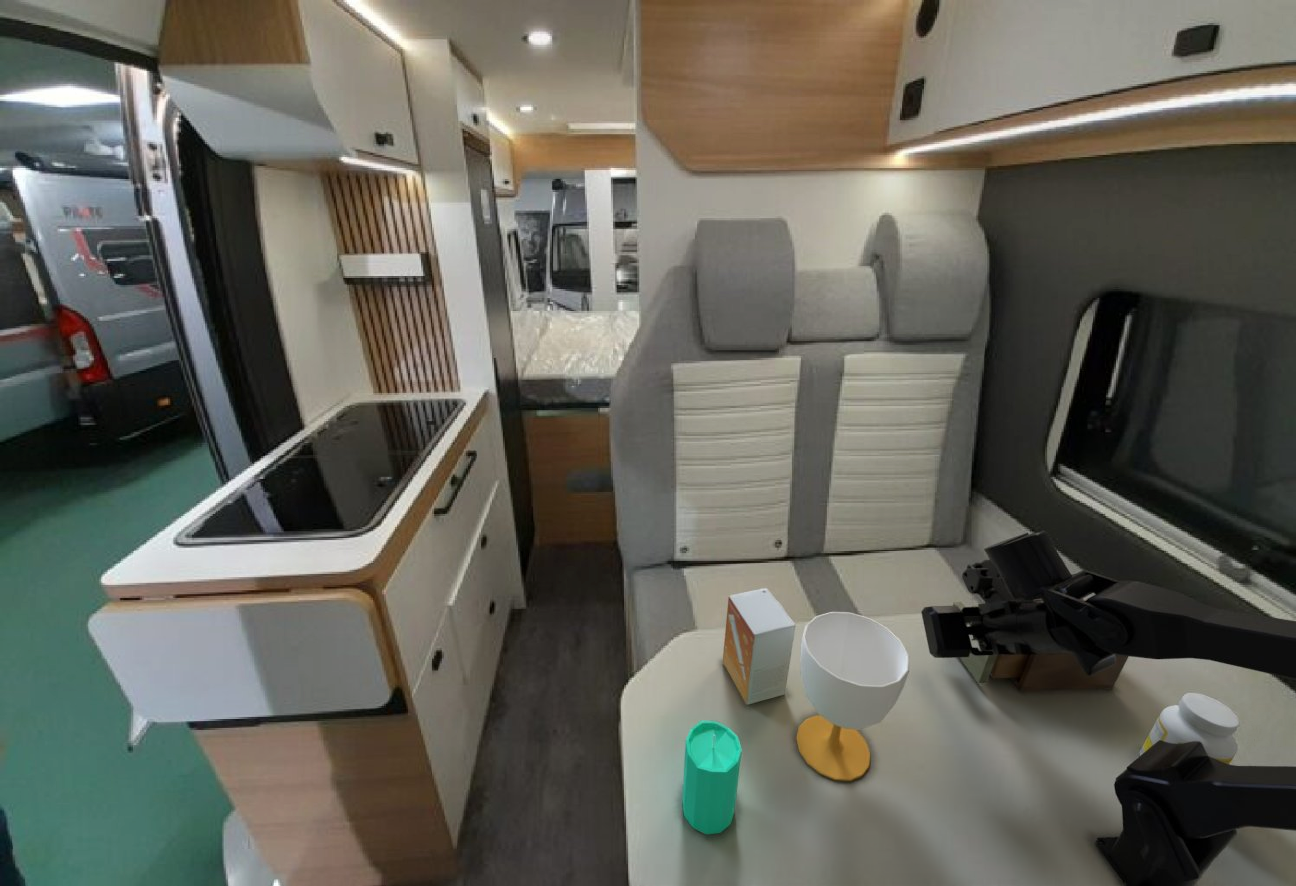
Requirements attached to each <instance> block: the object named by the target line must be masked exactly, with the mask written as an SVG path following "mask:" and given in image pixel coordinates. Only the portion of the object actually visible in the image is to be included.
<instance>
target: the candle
mask: <svg viewBox="0 0 1296 886" xmlns="http://www.w3.org/2000/svg"><path fill="white" fill-rule="evenodd" d="M684 746H685V747H684V764H683V766H684V767H683V781H682V782H683V783H682V799H681V803H682V809H683V816H684V818H685V819H686V821H687V822H688V823H689V825H690V826H691V827H692V828H693V829H694V830H696V831H699V832H700V833H702V834H704V835H715V834H721V833H722V832H724V830H726V829H727V828H728V827H729V826H731V825H732V821H733V817H734V814H735V811H736V803H737V793H738V785H739V779H740V778H739V777H740V776H739V775H740V768H741V759H742V752H743V749H742V746H741V742H740V738H739V736H738V735H737V734H736V733H735V732H734V731H733V730H732V729H731V728H729V726H727V725H724V724H722V723H720V722H717V721H716V720H700V721H699V722H697V723H696V724H695V725H694V726H693V727H691V728H690V729H689V732H688V734H687V736H686V738H685V745H684Z"/></svg>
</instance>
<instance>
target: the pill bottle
mask: <svg viewBox="0 0 1296 886" xmlns="http://www.w3.org/2000/svg"><path fill="white" fill-rule="evenodd" d="M1239 726H1240V719H1239V717H1238V715H1237V714H1236V713H1235V712H1234V711H1233V710H1232V709H1230V707H1228V706H1227V705H1226V704H1223V703H1222V702H1220V701H1219V700H1217V699H1215V698H1213V697H1211V696H1207V695H1205V694H1202V693H1198V692H1187V693H1185V694H1184V695H1182V697H1181V699H1180V700H1179V702H1178V705H1175V704H1174V705H1170V706H1167V707H1165V708H1164V709H1163V710H1162V711H1161V713H1160V714H1159V715H1158V718H1157V719H1156V721H1155V723H1154V724H1153V727H1152V728H1151V730H1150V732H1149V734H1148V735H1147V738H1146V740H1145V742H1144V743H1143V744H1142V747H1141V748H1140V751H1139V753H1138V755H1137V758H1138V757H1140V756H1141V755H1142V754H1143V753H1144V752H1145V751H1147V750H1148V749H1149V748H1150V747H1151V746H1153V745H1154V744H1155V743H1156V742H1157V741H1159V740H1161V741H1165V742H1168V743H1175V744H1182V743H1187V742H1192V741H1200V742H1201V743H1202V745H1203V747H1204V749H1205V750H1206V752H1207V754H1208V756H1209V757H1212V758H1214V759H1216V760H1219V761H1221V762H1224V763H1226V764H1229V765H1230V764H1231V762H1232V761H1233V759H1234V758H1235V756H1236V754H1237V752H1238V743H1237V740H1236V737H1234V734H1235V733H1236V731H1237V729H1238V728H1239Z"/></svg>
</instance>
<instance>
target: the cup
mask: <svg viewBox="0 0 1296 886" xmlns="http://www.w3.org/2000/svg"><path fill="white" fill-rule="evenodd" d="M799 658H800V660H799V661H800V662H799V665H800V666H799V669H800V678H801V682H802V686H803V690H804V694H805V697H806V699H807V700H808V701H809V703H810V704H811V705H812V707H813V708H814V709H815V711H816V712H817V714H818V715H814V716H811V717H809V718H806V719H804V721H803V722H802V723H801V724H800V725H799V726H798V729H797V732H796V733H797V734H796V739H795V740H796V743H797V746H798V752H799V753H800V755H801V756H802V758H803V760H804V761H805V763H806V764H807V765H808V766H809V767H811V768H812V769H813V770H814V771H815V772H817V773H818V774H819V775H821V776H824V777H826V778H828V779H831V780H834V781H842V782H852V781H855V780H856V779H858V778H861V777H863V776H864V774H865V773H866V771H867V770H868V769H869V768H870V762H871V752H870V749H869V746H868V743H867V741H866V739H865V738H864V737H863V736H862V734H861V733H860V732H859V731H861V730H863V729H866V728H869V727H872V726H874V725H877V724H880V723H881V722H882V721H883V720H884V719H885V718H886V716H887V715H888V714H889V713H890V711H891V710H892V709H893V708H894V707H895V705H896V703H897V702H898V699H899V697H900V695H901V693H902V691H903V690H904V687H905V685H906V681H907V678H908V675H909V673H910V655H909V653H908V652H907V649H906V648H905V646H904V643H903V641H901V639H900V638H898V636H897V635H895V634H894V633H893V632H892V631H891V630H890V629H889V628H888V627H887V626H885V625H882V624H881V623H879V622H877V621H876V620H874V619H872V618H870V617H868V616H864V615H861V614H857V613H853V612H848V611H830V612H826V613H823V614H819V615H816V616H815V617H813V618H812V619H811V620H810V621H809V622H808V623H806V624H805V626H804V630H803V634H802V637H801V646H800V657H799ZM858 730H859V731H858Z"/></svg>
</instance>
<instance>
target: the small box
mask: <svg viewBox="0 0 1296 886" xmlns="http://www.w3.org/2000/svg"><path fill="white" fill-rule="evenodd" d="M796 626H797V625H796V623H795V622H794V621H793V619H792V618H791V617H790V615H789V614H788V613H787V611H786V610H785V608H784V607H783V606H782V604H781V603H780V602H779V601H778V600H777V599H776V597H775V596H774V594H773V593H772V592H771V591H770V590H769V588H768V587H764V588H758V589H752V590H748V591H744V592H739V593H735V594H731V595H728V598H727V611H726V620H725V632H724V642H723V653H722V664H723V666H724V668H725V669H726V671H727V673H728V674H729V676H730V678H731V680H732V681H733V683H734V685H735V686H736V688H737V691H738V692H739V694H740V696H741V697H742V700H743V702H744V703H745V705H747V706H748V705H752V704H755V703H759V702H763V701H766V700H770V699H774V698H777V697H780V696H783V695H786V690H787V685H788V678H789V671H790V665H791V658H792V652H793V646H794V639H795V633H796Z"/></svg>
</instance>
